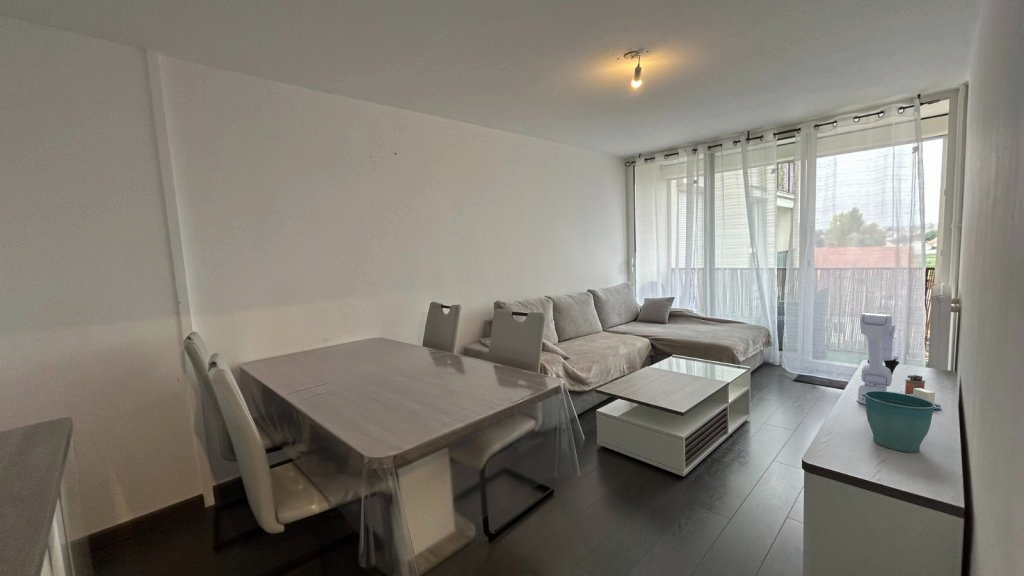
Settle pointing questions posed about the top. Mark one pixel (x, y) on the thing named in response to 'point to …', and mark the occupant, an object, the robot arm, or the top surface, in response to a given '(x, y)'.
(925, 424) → the flower pot
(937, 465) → the top surface
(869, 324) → the robot arm
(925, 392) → the cream rectangular block
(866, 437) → the top surface
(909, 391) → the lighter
